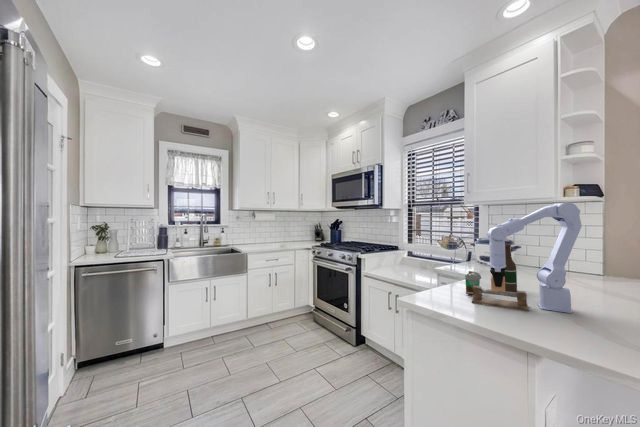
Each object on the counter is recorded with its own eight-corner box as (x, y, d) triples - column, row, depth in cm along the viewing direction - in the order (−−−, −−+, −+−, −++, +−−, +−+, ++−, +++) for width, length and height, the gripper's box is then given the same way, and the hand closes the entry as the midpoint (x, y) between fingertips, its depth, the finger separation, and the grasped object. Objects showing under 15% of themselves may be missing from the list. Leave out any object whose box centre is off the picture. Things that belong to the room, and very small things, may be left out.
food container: (480, 297, 122) (479, 276, 122) (465, 295, 126) (465, 275, 126) (483, 291, 132) (482, 272, 132) (469, 289, 136) (468, 270, 136)
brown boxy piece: (527, 305, 111) (526, 290, 111) (529, 311, 104) (528, 295, 104) (473, 297, 122) (472, 284, 122) (471, 302, 116) (471, 288, 116)
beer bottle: (502, 292, 130) (500, 244, 130) (496, 288, 137) (495, 243, 138) (520, 293, 128) (519, 245, 128) (513, 289, 135) (512, 243, 135)
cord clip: (505, 289, 114) (504, 276, 114) (505, 291, 110) (504, 279, 110) (491, 287, 117) (491, 275, 117) (491, 290, 113) (490, 277, 113)
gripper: (487, 251, 122) (487, 280, 122) (485, 256, 110) (486, 287, 110) (505, 252, 118) (506, 282, 118) (506, 257, 106) (507, 290, 106)
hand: (498, 285), depth 113 cm, fingers closed on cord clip, 5 cm apart
